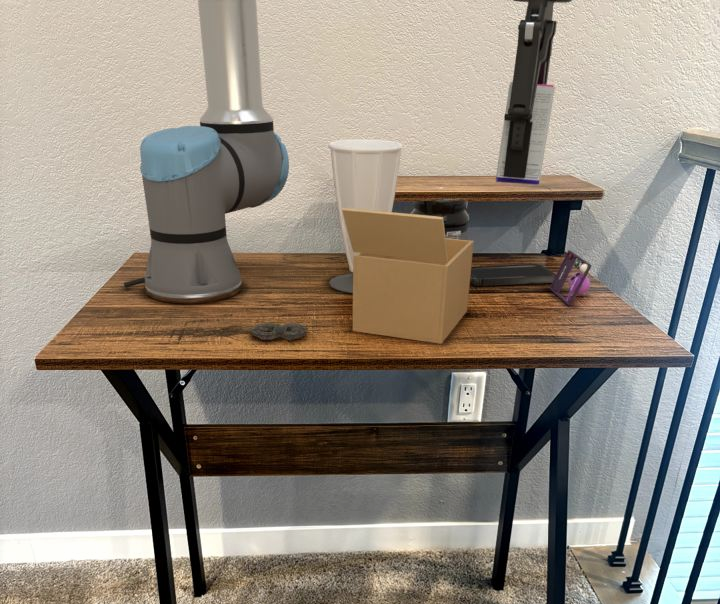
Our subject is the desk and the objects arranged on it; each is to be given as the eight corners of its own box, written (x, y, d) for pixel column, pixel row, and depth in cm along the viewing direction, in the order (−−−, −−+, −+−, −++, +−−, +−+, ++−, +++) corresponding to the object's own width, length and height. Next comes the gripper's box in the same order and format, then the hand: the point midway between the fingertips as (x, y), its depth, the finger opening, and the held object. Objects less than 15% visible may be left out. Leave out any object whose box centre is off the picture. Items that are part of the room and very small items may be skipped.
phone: (460, 267, 128) (540, 263, 131) (459, 273, 128) (539, 269, 131) (474, 279, 121) (558, 275, 124) (474, 286, 122) (557, 282, 125)
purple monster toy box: (564, 248, 118) (585, 263, 111) (591, 258, 120) (614, 274, 112) (545, 287, 121) (564, 304, 114) (571, 296, 123) (592, 314, 115)
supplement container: (420, 254, 140) (423, 187, 134) (472, 261, 136) (479, 193, 130) (398, 267, 132) (401, 197, 125) (453, 275, 128) (459, 203, 122)
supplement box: (540, 185, 95) (555, 86, 89) (494, 182, 96) (506, 83, 90) (540, 177, 100) (554, 83, 94) (496, 175, 101) (507, 81, 95)
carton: (441, 344, 99) (447, 266, 94) (352, 331, 103) (353, 255, 98) (467, 311, 111) (473, 240, 106) (386, 300, 115) (388, 232, 110)
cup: (343, 271, 129) (343, 137, 118) (405, 278, 126) (412, 141, 114) (318, 289, 119) (316, 145, 108) (385, 297, 116) (390, 150, 105)
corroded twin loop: (306, 342, 98) (306, 335, 98) (247, 341, 98) (247, 334, 98) (309, 329, 103) (309, 322, 102) (252, 328, 103) (252, 321, 102)
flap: (447, 260, 93) (447, 262, 93) (354, 249, 97) (353, 252, 97) (443, 216, 87) (442, 219, 87) (342, 207, 91) (341, 209, 91)
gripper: (570, -46, 77) (536, 187, 89) (587, -32, 92) (556, 165, 104) (499, -47, 79) (475, 181, 91) (527, -33, 94) (504, 161, 106)
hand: (518, 172), depth 97 cm, fingers closed on supplement box, 6 cm apart
